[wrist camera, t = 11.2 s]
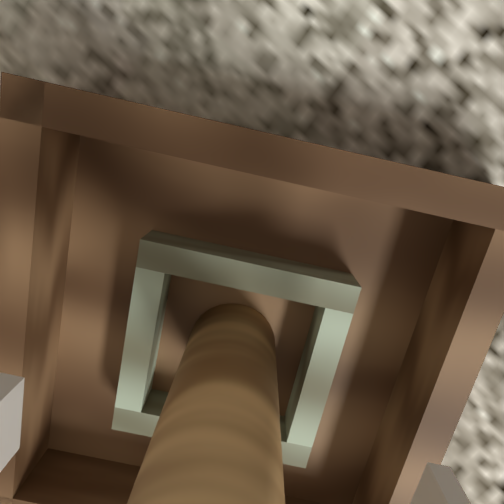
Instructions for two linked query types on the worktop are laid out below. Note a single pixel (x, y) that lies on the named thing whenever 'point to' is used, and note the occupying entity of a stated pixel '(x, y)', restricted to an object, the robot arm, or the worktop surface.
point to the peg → (219, 418)
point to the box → (232, 292)
